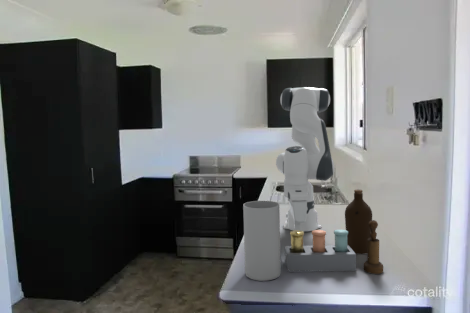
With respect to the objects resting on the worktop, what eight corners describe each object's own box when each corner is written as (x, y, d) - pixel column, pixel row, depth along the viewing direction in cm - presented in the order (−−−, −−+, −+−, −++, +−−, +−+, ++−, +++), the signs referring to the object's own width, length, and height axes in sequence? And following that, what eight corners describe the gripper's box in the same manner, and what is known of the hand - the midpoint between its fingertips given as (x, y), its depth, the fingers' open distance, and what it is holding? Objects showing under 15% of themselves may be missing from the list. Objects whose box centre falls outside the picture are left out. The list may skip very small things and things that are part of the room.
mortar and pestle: (386, 269, 130) (386, 220, 129) (379, 275, 125) (379, 224, 124) (367, 265, 135) (367, 217, 133) (360, 271, 130) (360, 221, 128)
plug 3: (332, 250, 138) (332, 229, 137) (346, 249, 137) (346, 229, 137) (335, 254, 133) (335, 233, 132) (349, 254, 132) (349, 233, 132)
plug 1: (289, 250, 138) (289, 230, 138) (303, 250, 138) (302, 230, 137) (291, 255, 133) (290, 234, 133) (305, 255, 133) (304, 234, 132)
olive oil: (377, 254, 146) (377, 191, 144) (351, 255, 145) (351, 193, 143) (365, 245, 157) (365, 187, 155) (340, 246, 156) (340, 188, 154)
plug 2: (311, 250, 138) (310, 230, 137) (324, 250, 138) (324, 229, 137) (313, 255, 133) (313, 234, 132) (327, 254, 133) (327, 233, 132)
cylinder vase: (260, 264, 138) (259, 199, 136) (287, 273, 130) (286, 203, 128) (237, 275, 130) (235, 205, 127) (265, 285, 121) (263, 210, 119)
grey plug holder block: (285, 261, 141) (284, 246, 141) (348, 260, 140) (348, 245, 140) (288, 271, 131) (287, 255, 131) (356, 270, 130) (356, 254, 130)
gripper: (284, 186, 144) (285, 221, 145) (290, 196, 124) (291, 237, 125) (301, 186, 144) (301, 221, 145) (309, 196, 124) (310, 236, 125)
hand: (296, 228), depth 135 cm, fingers closed
